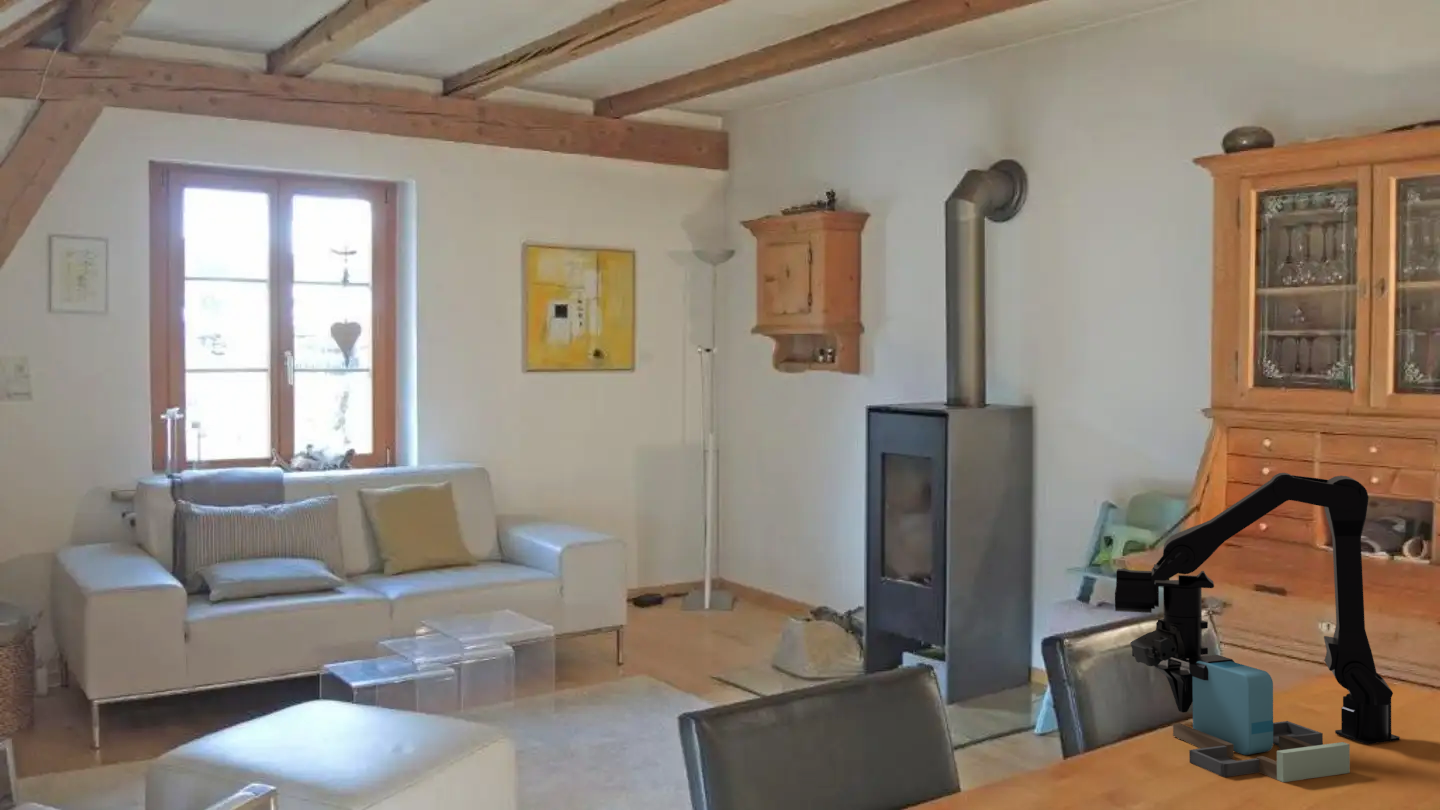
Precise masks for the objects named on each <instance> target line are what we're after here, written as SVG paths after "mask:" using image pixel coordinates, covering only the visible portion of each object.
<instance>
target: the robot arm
mask: <svg viewBox="0 0 1440 810" xmlns="http://www.w3.org/2000/svg"><path fill="white" fill-rule="evenodd" d="M1288 501H1294V502H1299V503H1302V504H1303V503H1304V504H1308V505H1315V506H1319V507H1324V512H1325V516H1326V518H1327V522H1328V526H1329V529H1330V532H1331V536H1332V537H1331V538H1332V556H1333V557H1332V558H1333V561H1332V562H1333V578H1334V579H1333V580H1334V582H1333V583H1334V599H1335V601H1334V602H1335V603H1334V604H1335V606H1334V607H1335V619H1336V620H1335V629H1334V633H1333V636H1327V635H1324V636H1323V639H1324V644H1325V649H1326V653H1325V657H1324V660H1323V661H1324V662H1325V664H1326V666H1327V668H1328V670H1329V671H1330V672H1332V675H1333V676H1334V678H1335V680H1336V681H1337V683H1338V684H1339V685H1340V686H1341V687H1342V688H1344V689H1346V690H1347V691H1348V692H1349V693H1347V694H1345V695H1343V696H1342V706H1341V708H1340V709H1341V710H1340V711H1341V714H1340V715H1341V721H1340V722H1341V729H1336V730H1334V733H1335V734H1336V735H1338V736H1341V737H1344V738H1347V739H1350V740H1353V741H1356V742H1358V743H1361V744H1365V745H1375V744H1381V743H1389V742H1396V741H1401V739H1400V736H1399V735H1396V734H1392V697H1393V694H1394V693H1393V690H1392V689H1391V688H1390V686H1389V685H1388V684H1387V682H1386V681H1385V679H1384V677H1382V676H1381V675H1380V674H1379V673H1378V672H1377V669H1376V665H1375V661H1374V657H1373V656H1374V655H1373V652H1372V649H1371V645H1370V642H1369V639H1368V635H1367V632H1366V624H1365V623H1366V622H1365V604H1364V603H1365V602H1364V581H1363V580H1364V579H1363V578H1364V577H1363V558H1362V535H1363V531H1364V526H1365V523H1366V519H1367V518H1366V517H1367V512H1368V505H1369V495H1368V491H1367V489H1366V488H1365V486H1364V485H1363V484H1362V483H1360V482H1359V481H1358V480H1356V479H1355V478H1352V477H1350V476H1347V475H1337V476H1333V477H1331V478H1329V479H1324V478H1318V477H1310V476H1301V475H1294V474H1290V473H1287V472H1279V473H1276V474H1274V475H1273V476H1272V478H1270V480H1268V481H1267V482H1265V483H1264V484H1262V485H1260V487H1258V488H1257V489H1255V490H1253V491H1252V492H1251V493H1249V494H1247V495H1245V496H1244V497H1242V498H1241V499H1240V500H1238V501H1237V502H1234V504H1232V505H1231V506H1228V507H1227V508H1226V509H1224V510H1223V511H1222V512H1219V514H1217V515H1215V516H1214V517H1212V518H1211V519H1209V520H1207V521H1205V522H1202V523H1200V524H1197V525H1194V526H1192V527H1188V528H1187V529H1184V530H1182V531H1180V532H1178V533H1175V534H1173V535H1171V536H1169V537H1168V539H1166V541H1165V543H1164V544H1163V549H1162V556H1161V557H1160V558H1159V560H1157V562H1156V563H1155V564H1153V567H1152V568H1151V570H1132V569H1126V568H1118V569H1116V582H1115V589H1114V590H1115V591H1114V610H1115V612H1121V613H1122V612H1125V613H1147V614H1152V613H1153V609H1156V607H1157V608H1159V607H1160V600H1159V599H1160V591H1159V590H1160V588H1159V587H1162V588H1163V589H1162V590H1163V593H1162V595H1163V598H1162V599H1163V600H1162V603H1163V608H1162V609H1163V618H1157V621H1156V622H1155V623H1156V624H1155V630H1153V631H1150V632H1147V633H1145V634H1143V635H1141V636H1139V637H1137V638H1135V639H1133V640H1132V641H1131V642H1130V647H1131V653H1132V654H1131V655H1132V657H1134V659H1135V661H1136V662H1137V663H1142V664H1145V665H1146V666H1148V667H1154V668H1155V669H1156V670H1158V671H1160V672H1161V673H1162V674H1163V675H1164V676H1165V677H1166V680H1167V681H1168V684H1169V686H1170V689H1171V692H1172V695H1173V698H1174V702H1175V703H1176V704H1175V705H1176V707H1177V710H1178V712H1180V713H1187V712H1189V710H1190V707H1191V706H1192V705H1193V677H1196V678H1199V679H1202V680H1208V668H1207V666H1206V665H1204V664H1199V663H1196V662H1197V661H1202V662H1205V663H1218V662H1227V661H1232V662H1235V661H1234V660H1233V659H1232V658H1229V657H1226V656H1222V655H1219V654H1214V655H1208V654H1209V649H1208V648H1209V647H1206V646H1203V639H1202V638H1203V631H1202V630H1205V629H1208V627H1209V626H1208V623H1209V622H1208V621H1205V620H1203V619H1202V613H1203V610H1202V607H1203V606H1202V599H1203V598H1202V595H1203V594H1202V593H1203V592H1202V589H1213V588H1214V587H1215V582H1214V581H1213V580H1212V579H1211V578H1210V577H1209V576H1207V573H1206V572H1205V570H1201V571H1200V572H1199V573H1198V574H1196V575H1189V574H1190V573H1191V574H1192V573H1193V572H1195V571H1197V570H1198V569H1199V567H1201V566H1202V565H1203V564H1204V563H1205V562H1206V561H1207V560H1208V559H1209V558H1211V556H1212V555H1213V554H1214V553H1215V552H1216V551H1217V550H1218V548H1220V546H1221V545H1223V544H1224V543H1225V542H1226V541H1228V540H1229V539H1231V538H1232V537H1233V536H1235V535H1236V534H1238V533H1239V532H1241V531H1243V530H1244V529H1246V528H1247V527H1249V526H1250V525H1252V524H1254V523H1255V522H1256V521H1258V520H1260V519H1261V518H1263V517H1264V516H1265V515H1267V514H1269V513H1270V512H1272V511H1273V510H1275V509H1276V508H1279V506H1282V505H1283V504H1284V503H1286V502H1288ZM1177 574H1179V575H1178V576H1177V577H1178V579H1171V578H1173V577H1174V576H1176V575H1177ZM1169 579H1171V580H1169ZM1203 655H1204V656H1203Z"/></svg>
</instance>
